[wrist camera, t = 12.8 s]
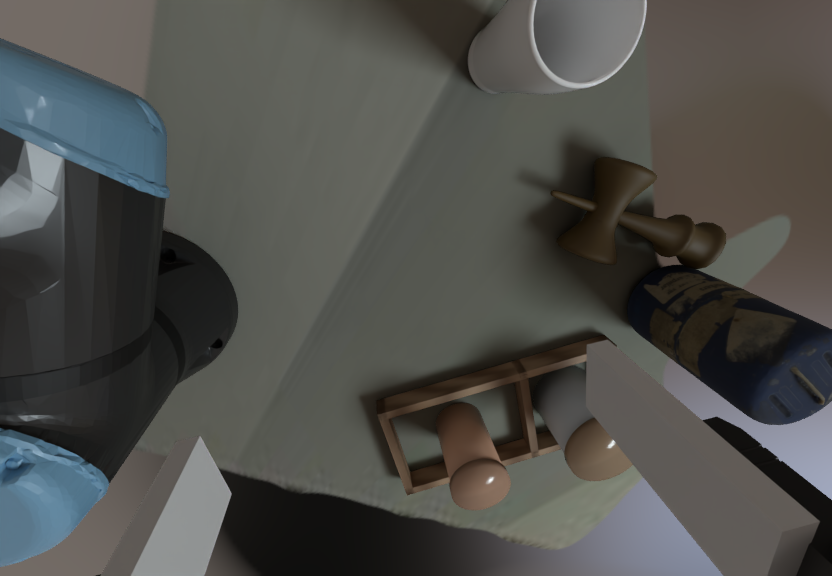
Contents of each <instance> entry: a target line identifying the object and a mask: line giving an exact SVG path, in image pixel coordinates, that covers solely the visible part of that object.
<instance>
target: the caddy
mask: <svg viewBox="0 0 832 576" xmlns="http://www.w3.org/2000/svg"><path fill="white" fill-rule="evenodd" d="M604 340H609V341H610V342H611V343H612V344H613V345H615V346H616V347H617V345H616V344H614V343H613V342H612V341H611V340H610V339H609V338H607V337H606V336H605V335H601V336H598V337H594V338H591V339H587V340H584V341H581V342H577V343H574V344H570V345H567V346H563V347H560V348H556V349H553V350H549V351H546V352H543V353H539V354H536V355H532V356H529V357H525V358H522V359H518V360H515V361H512V362H508V363H505V364H501V365H498V366H494V367H491V368H487V369H484V370H480V371H477V372H474V373H470V374H467V375H463V376H460V377H456V378H453V379H449V380H446V381H443V382H439V383H436V384H432V385H429V386H425V387H422V388H418V389H415V390H411V391H408V392H405V393H401V394H398V395H394V396H391V397H387V398H384V399H380V400H377V401H376V402H377V415H378V418H379V421H380V423H381V426H382V429H383V431H384V434H385V437H386V440H387V442H388V445H389V448H390V450H391V453H392V456H393V458H394V461H395V464H396V467H397V469H398V472H399V475H400V477H401V480H402V483H403V486H404V488H405V491H406V494H407V495H410V494H413V493H417V492H420V491H423V490H427V489H430V488H433V487H437V486H440V485H443V484H447V483H450V480H449V476H448V472H447V468H446V464H445V462H442V463H439V464H435V465H432V466H429V467H425V468H422V469H419V470H415V471H412V472H410V470H409V467H408V464H407V461H406V458H405V456H404V453H403V450H402V447H401V444H400V441H399V438H398V436H397V433H396V430H395V427H394V424H393V421H392V419H391V418H393V417H397V416H400V415H403V414H407V413H410V412H414V411H417V410H421V409H424V408H427V407H431V406H434V405H438V404H441V403H445V402H448V401H451V400H455V399H458V398H462V397H465V396H469V395H472V394H475V393H479V392H482V391H486V390H489V389H493V388H496V387H499V386H503V385H506V384H510V383H513V382H514V383H515V389H516V395H517V401H518V407H519V414H520V420H521V426H522V432H523V439H520V440H516V441H513V442H509V443H506V444H503V445H499V446H496V447H495V449H496V452H497V454H498V456H499V459H500V461H501V463H502V464H503V465H504V466H507V465H510V464H514V463H517V462H520V461H524V460H527V459H530V458H534V457H537V456H540V455H544V454H547V453H550V452H554V451H557V450H560V449H561V448H560V446H559V444H558V443H557V441H556V440H555V438H554V436H553V435H552V433H551V432H550V431H547V432H543V433H540V434H536V430H535V423H534V416H533V409H532V402H531V395H530V389H529V382H528V378H530V377H534V376H537V375H541V374H544V373H547V372H551V371H554V370H558V369H561V368H565V367H568V366H571V365H575V364H578V363H582V362H585V361H587V344H592V343H596V342H600V341H604Z"/></svg>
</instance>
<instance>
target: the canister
mask: <svg viewBox="0 0 832 576" xmlns="http://www.w3.org/2000/svg"><path fill="white" fill-rule="evenodd" d="M627 315H628V319H629V322H630V324H631V326H632V327H633V329H634V330H635V331H636V332H637V333H638V334H639V335H641V336H642V337H643V338H645V339H646V340H647V341H649V342H650V343H651V344H653V345H654V346H655V347H656V348H658V349H659V350H660V351H662V352H663V353H664V354H666V355H667V356H668V357H670V358H671V359H672V360H674V361H675V362H676V363H677V364H679V365H680V366H682V367H683V368H684V369H686V370H687V371H688V372H690V373H691V374H693V375H694V376H695V377H696V378H698V379H699V380H700V381H702V382H703V383H704V384H706V385H707V386H708V387H710V388H711V389H712V390H714V391H715V392H716V393H718V394H719V395H720V396H722V397H723V398H724V399H726V400H727V401H728V402H730V403H731V404H732V405H734V406H735V407H736V408H738V409H739V410H740V411H742V412H743V413H744V414H746V415H747V416H749V417H750V418H752V419H754V420H756V421H758V422H761V423H764V424H769V425H783V424H789V423H794V422H797V421H800V420H802V419H805V418H806V417H809V416H811V415H812V414H814V413H816V412H817V411H819V410H821V409H822V408H823V407H825V406H826V405H827V404H829V403H830V402H831V401H832V329H829V328H828V327H825V326H823V325H821V324H819V323H817V322H814V321H812V320H810V319H808V318H805V317H803V316H801V315H799V314H796V313H794V312H792V311H789V310H787V309H785V308H783V307H780V306H778V305H776V304H774V303H772V302H769V301H768V300H765V299H763V298H761V297H759V296H757V295H754V294H752V293H750V292H748V291H746V290H744V289H741V288H739V287H736V286H734V285H732V284H729V283H727V282H725V281H722V280H720V279H717V278H715V277H712V276H710V275H708V274H706V273H703V272H701V271H699V270H696V269H694V268H688V267H686V266H684V265H671V266H666V267H662V268H660V269H657V270H655V271H653V272H652V273H650V274H649V275H647V276H646V277H645V278H644V279H643V280H642V281H641V282H640V283H639V284H638V285H637V286H636V288H635V289H634V291H633V292H632V294H631V297H630V299H629V302H628V308H627Z"/></svg>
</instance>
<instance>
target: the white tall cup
mask: <svg viewBox="0 0 832 576" xmlns="http://www.w3.org/2000/svg"><path fill="white" fill-rule="evenodd" d="M646 8H647V0H508V1H507V2H506V3H505V4H504V5H503V7H502V8H501V9H500V10H499V11H498V13H497V14H496V15H495V16H494V17H493V19H492V20H491V21H490V22H489V23H488V24H487V26H485V27H484V28H483V29H482V30H481V31H480V32H479V33H478V34H477V35H476V36H475V38H474V40H473V42H472V44H471V46H470V49H469V53H468V68H469V72H470V75H471V77H472V79H473V81H474V83H475V84H476V85H477V86H478V87H479V88H480V89H482V90H483V91H485V92H488V93H492V94H500V93H521V94H538V95H549V94H560V93H566V92H571V91H576V90H580V89H584V88H588V87H591V86H595V85H597V84H600V83H601V82H603V81H605V80H607V79H608V78H610V77H611V76H612V75H614V74H615V73H616V72H617V71H618V70H619V69H620V68H621V67H622V66H623V65H624V64H625V62H626V61H627V60H628V59H629V57H630V56H631V54H632V53H633V51H634V49H635V47H636V45H637V43H638V41H639V38H640V36H641V33H642V30H643V26H644V22H645V17H646Z"/></svg>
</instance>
